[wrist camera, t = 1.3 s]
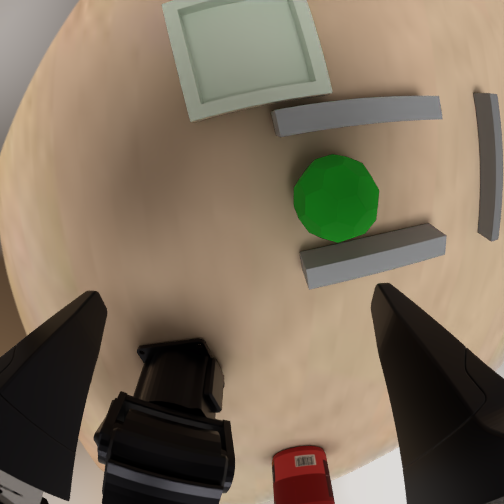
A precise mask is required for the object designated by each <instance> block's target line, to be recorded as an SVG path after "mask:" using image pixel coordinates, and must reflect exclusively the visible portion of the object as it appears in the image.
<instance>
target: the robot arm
mask: <svg viewBox="0 0 504 504" xmlns="http://www.w3.org/2000/svg"><path fill="white" fill-rule="evenodd" d="M371 313H372V318H373V324H374V330H375V336H376V342H377V348H378V354H379V358H380V362H381V366H382V369H383V373H384V377H385V381H386V385H387V390H388V394H389V398H390V403H391V407H392V412H393V417H394V421H395V426H396V432H397V437H398V442H399V448H400V454H401V460H402V467H403V474H404V482H405V490H406V499H407V504H504V379H503V378H502V377H501V376H500V375H498V374H497V373H496V372H495V371H494V370H492V369H491V368H490V367H489V366H487V365H486V364H485V363H484V362H483V361H481V360H480V359H479V358H478V357H477V356H476V355H475V354H474V353H472V352H471V351H470V350H469V349H468V348H466V347H465V346H464V345H463V344H462V343H461V342H460V341H459V340H458V339H457V338H455V337H454V336H453V335H452V334H451V333H450V332H449V331H447V330H446V329H445V328H444V327H443V326H442V325H440V324H439V323H438V322H437V321H436V320H434V319H433V318H432V317H431V316H430V315H428V314H427V313H426V312H425V311H424V310H422V309H421V308H420V307H419V306H418V305H416V304H415V303H414V302H413V301H411V300H410V299H409V298H408V297H407V296H405V295H404V294H403V293H402V292H400V291H399V290H398V289H396V288H395V287H394V286H393V285H391V284H390V283H379V284H377V285H376V287H375V290H374V294H373V298H372V302H371ZM106 318H107V308H106V306H105V304H104V302H103V300H102V298H101V296H100V294H99V293H98V292H97V291H86V292H85V293H83V294H82V295H80V296H79V297H78V298H76V299H75V300H74V301H72V302H71V303H69V304H68V305H67V306H65V307H64V308H63V309H61V310H60V311H59V312H57V313H56V314H55V315H53V316H52V317H51V318H49V319H48V320H47V321H45V322H44V323H43V324H42V325H40V326H39V327H38V328H36V329H35V330H34V331H33V332H31V333H30V334H29V335H28V336H26V337H25V338H24V339H23V340H21V341H20V342H19V343H18V344H17V345H15V346H14V347H13V348H11V349H10V350H9V351H8V352H6V353H5V354H4V355H3V356H1V357H0V504H48V501H47V499H45V498H43V497H42V495H43V491H44V492H46V493H48V494H51V495H53V496H56V497H58V498H61V499H64V500H66V501H69V499H70V492H71V483H72V475H73V467H74V460H75V452H76V447H77V442H78V436H79V431H80V426H81V421H82V417H83V412H84V408H85V403H86V399H87V395H88V391H89V387H90V383H91V380H92V376H93V372H94V369H95V365H96V361H97V358H98V354H99V350H100V346H101V341H102V336H103V331H104V327H105V322H106ZM198 344H201V345H198ZM143 351H144V352H143ZM137 353H138V355H139V356H140V358H141V359H142V361H143V363H144V366H143V369H142V372H141V374H140V377H139V380H138V383H137V386H136V389H135V393H134V396H130V395H127V393H124V392H122V391H121V392H120V394H119V396H118V398H115V400H112V402H111V405H110V408H109V411H108V413H107V415H106V417H105V419H104V420H103V422H102V423H101V425H100V426H99V428H98V429H97V431H96V432H95V435H94V441H95V443H96V444H97V446H98V461H99V462H100V463H102V464H105V472H104V480H103V488H102V494H103V499H102V504H219V501H220V498H221V495H222V493H227V492H228V490H229V489H230V487H231V484H232V481H233V477H234V471H235V454H234V447H233V440H232V432H231V425H230V421H227V420H223V421H222V420H217V419H215V414H216V413H218V412H220V411H221V410H222V399H223V388H224V375H223V373H222V371H221V369H220V367H219V365H218V362H217V360H216V359H215V358H214V357H212V355H211V353H210V351H209V349H208V347H207V344H206V342H205V341H204V340H203V339H191V340H184V341H176V342H168V343H160V344H151V345H142V346H139V347H138V349H137Z"/></svg>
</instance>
